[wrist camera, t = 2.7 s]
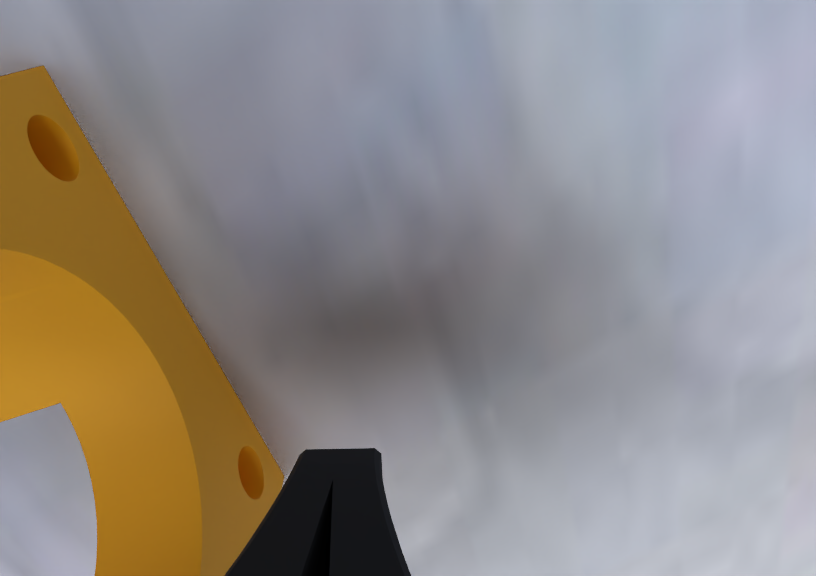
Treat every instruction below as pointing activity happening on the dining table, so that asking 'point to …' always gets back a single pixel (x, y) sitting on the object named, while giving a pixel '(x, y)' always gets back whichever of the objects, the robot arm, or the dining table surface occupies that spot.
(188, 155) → the dining table surface
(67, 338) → the pipe clamp
